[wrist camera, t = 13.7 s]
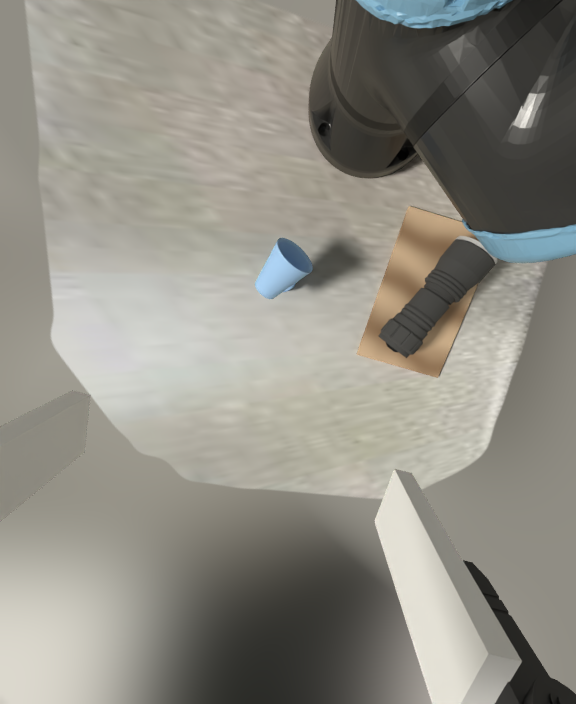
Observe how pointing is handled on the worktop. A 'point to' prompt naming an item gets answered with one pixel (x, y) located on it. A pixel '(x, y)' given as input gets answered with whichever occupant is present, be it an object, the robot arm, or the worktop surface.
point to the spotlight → (283, 269)
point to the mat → (405, 281)
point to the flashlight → (438, 294)
